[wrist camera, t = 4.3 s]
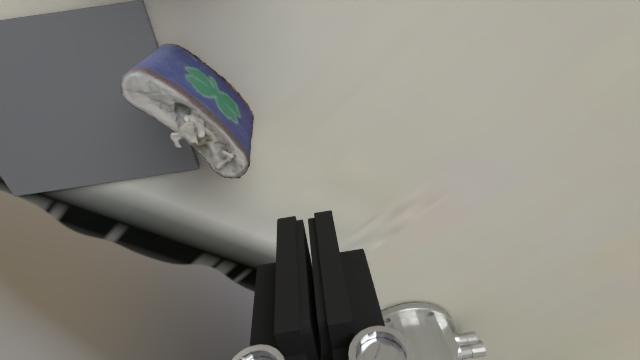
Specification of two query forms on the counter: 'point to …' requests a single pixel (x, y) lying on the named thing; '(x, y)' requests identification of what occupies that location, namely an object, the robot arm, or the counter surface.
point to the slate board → (79, 101)
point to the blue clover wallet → (193, 107)
